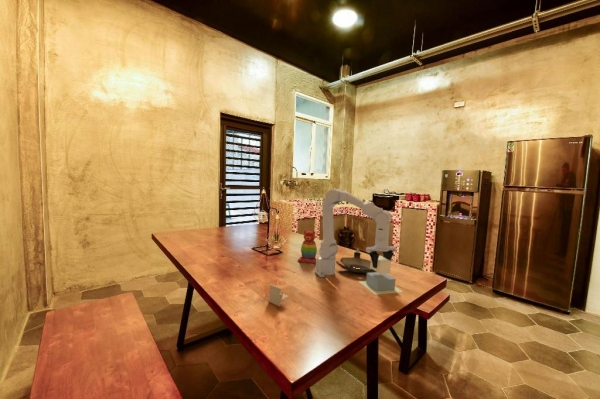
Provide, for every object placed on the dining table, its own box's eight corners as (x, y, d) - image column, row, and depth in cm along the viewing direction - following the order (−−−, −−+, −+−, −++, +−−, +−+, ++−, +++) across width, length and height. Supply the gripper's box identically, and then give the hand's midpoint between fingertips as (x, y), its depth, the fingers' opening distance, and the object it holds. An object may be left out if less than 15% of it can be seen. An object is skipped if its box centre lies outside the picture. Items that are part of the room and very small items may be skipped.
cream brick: (380, 274, 113) (381, 261, 112) (370, 267, 121) (371, 256, 120) (390, 273, 114) (391, 260, 114) (379, 267, 122) (380, 255, 122)
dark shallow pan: (328, 273, 135) (329, 258, 135) (349, 259, 160) (350, 246, 160) (370, 284, 123) (371, 268, 123) (386, 267, 149) (387, 254, 148)
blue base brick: (377, 291, 112) (377, 280, 112) (366, 283, 121) (366, 272, 121) (394, 289, 115) (395, 278, 115) (382, 281, 124) (383, 271, 123)
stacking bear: (296, 262, 150) (298, 231, 148) (301, 257, 160) (303, 228, 158) (315, 264, 147) (316, 233, 145) (319, 259, 157) (320, 230, 155)
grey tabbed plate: (274, 299, 104) (275, 281, 104) (287, 305, 100) (288, 286, 100) (268, 302, 102) (269, 284, 101) (282, 308, 97) (282, 289, 97)
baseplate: (375, 297, 109) (375, 294, 109) (358, 283, 123) (358, 281, 123) (403, 294, 114) (403, 291, 113) (383, 281, 127) (384, 279, 127)
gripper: (372, 240, 110) (370, 271, 112) (401, 239, 115) (399, 269, 116) (364, 236, 117) (362, 265, 118) (391, 235, 121) (389, 264, 122)
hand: (380, 267), depth 117 cm, fingers closed on cream brick, 5 cm apart
